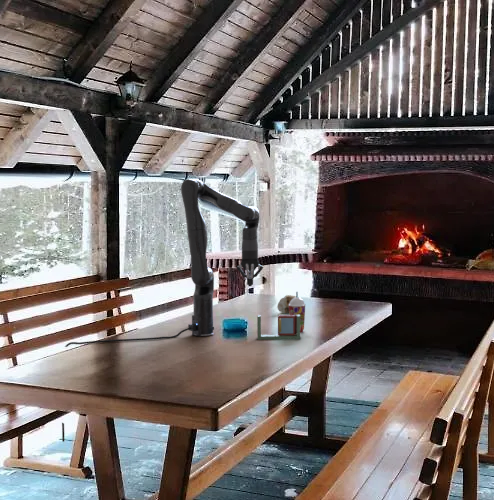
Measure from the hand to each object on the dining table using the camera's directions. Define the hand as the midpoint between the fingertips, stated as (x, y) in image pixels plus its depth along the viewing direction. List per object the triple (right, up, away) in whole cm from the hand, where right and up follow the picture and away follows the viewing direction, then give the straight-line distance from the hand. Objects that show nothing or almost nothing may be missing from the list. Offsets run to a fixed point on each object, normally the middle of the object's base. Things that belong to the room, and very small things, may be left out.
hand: (250, 286), depth 344 cm
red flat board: (+17, -23, -1) cm, 29 cm away
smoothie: (+22, -24, +18) cm, 37 cm away
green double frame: (+14, -25, +2) cm, 28 cm away
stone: (+17, -19, +77) cm, 81 cm away
